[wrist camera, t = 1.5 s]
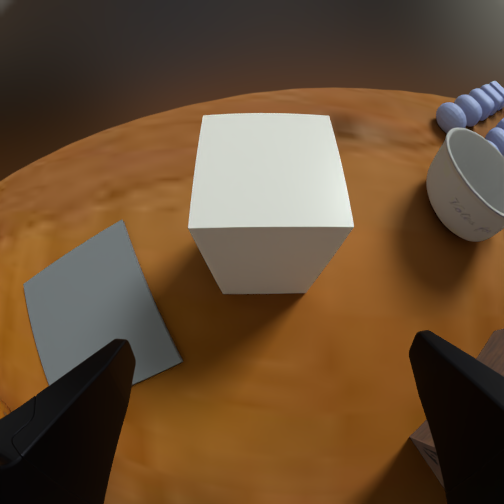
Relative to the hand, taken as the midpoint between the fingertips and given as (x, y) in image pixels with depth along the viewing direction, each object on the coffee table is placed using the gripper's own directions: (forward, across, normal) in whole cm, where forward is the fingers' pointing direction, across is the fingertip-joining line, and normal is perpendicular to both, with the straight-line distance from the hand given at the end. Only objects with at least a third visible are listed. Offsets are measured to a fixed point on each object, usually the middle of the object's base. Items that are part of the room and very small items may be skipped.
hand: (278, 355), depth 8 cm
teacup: (+19, -23, 0) cm, 30 cm away
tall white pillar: (+15, 0, +4) cm, 16 cm away
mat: (+11, +16, +8) cm, 21 cm away
